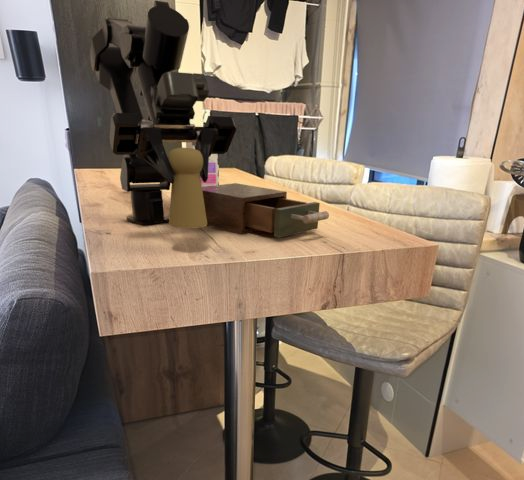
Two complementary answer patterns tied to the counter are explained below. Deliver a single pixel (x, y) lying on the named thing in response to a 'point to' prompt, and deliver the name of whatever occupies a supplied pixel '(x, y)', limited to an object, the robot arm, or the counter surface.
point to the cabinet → (233, 204)
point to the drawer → (283, 216)
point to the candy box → (210, 168)
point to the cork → (186, 189)
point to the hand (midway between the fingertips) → (189, 181)
